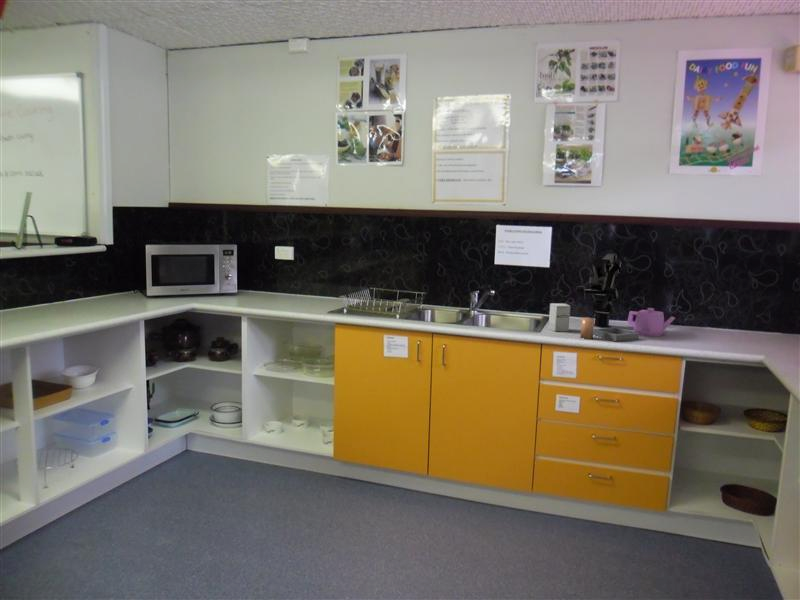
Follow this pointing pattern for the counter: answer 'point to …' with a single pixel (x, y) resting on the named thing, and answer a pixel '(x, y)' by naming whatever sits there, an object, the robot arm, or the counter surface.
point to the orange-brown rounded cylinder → (587, 328)
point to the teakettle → (649, 322)
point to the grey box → (559, 317)
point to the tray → (616, 334)
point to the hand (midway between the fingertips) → (592, 307)
